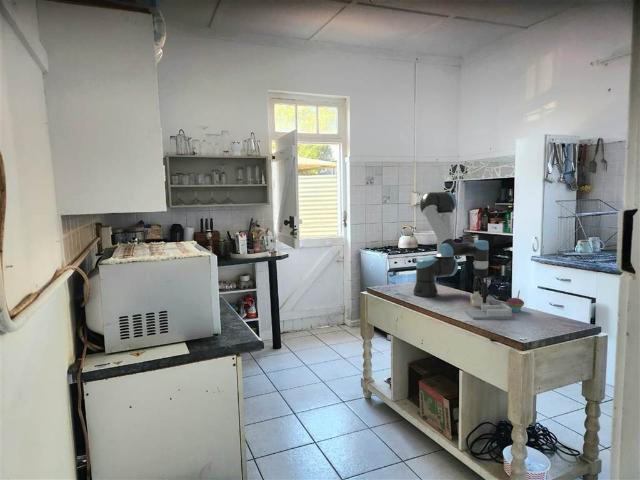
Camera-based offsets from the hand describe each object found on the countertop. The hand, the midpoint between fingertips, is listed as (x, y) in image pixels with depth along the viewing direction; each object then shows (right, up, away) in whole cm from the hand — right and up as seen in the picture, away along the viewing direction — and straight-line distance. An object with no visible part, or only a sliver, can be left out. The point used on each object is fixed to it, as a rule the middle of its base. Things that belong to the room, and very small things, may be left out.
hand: (479, 305), depth 235 cm
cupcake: (+14, -1, -12) cm, 19 cm away
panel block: (0, 0, 0) cm, 0 cm away
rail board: (-3, -2, -20) cm, 20 cm away
